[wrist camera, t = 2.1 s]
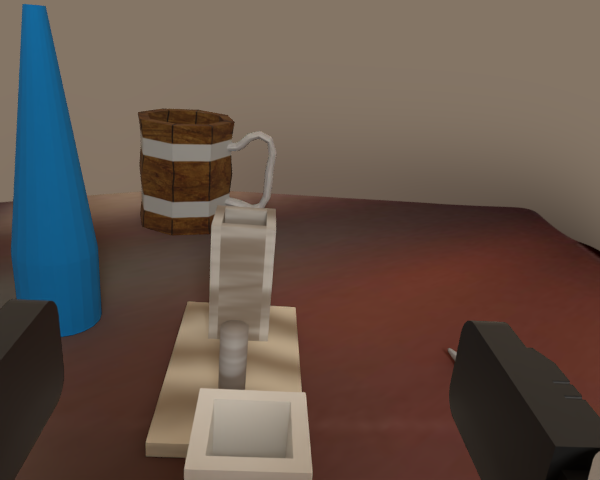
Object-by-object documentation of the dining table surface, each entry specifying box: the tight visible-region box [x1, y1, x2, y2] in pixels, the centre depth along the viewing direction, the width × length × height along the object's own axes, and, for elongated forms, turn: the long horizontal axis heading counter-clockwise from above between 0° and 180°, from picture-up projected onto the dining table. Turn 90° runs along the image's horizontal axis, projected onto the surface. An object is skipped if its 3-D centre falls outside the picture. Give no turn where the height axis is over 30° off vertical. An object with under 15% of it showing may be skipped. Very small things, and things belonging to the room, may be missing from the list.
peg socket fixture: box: [146, 205, 302, 458], centre depth 45 cm, size 20×11×12 cm, turn 3°
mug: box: [138, 109, 276, 235], centre depth 78 cm, size 20×14×15 cm
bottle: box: [11, 4, 102, 337], centre depth 48 cm, size 7×7×30 cm
